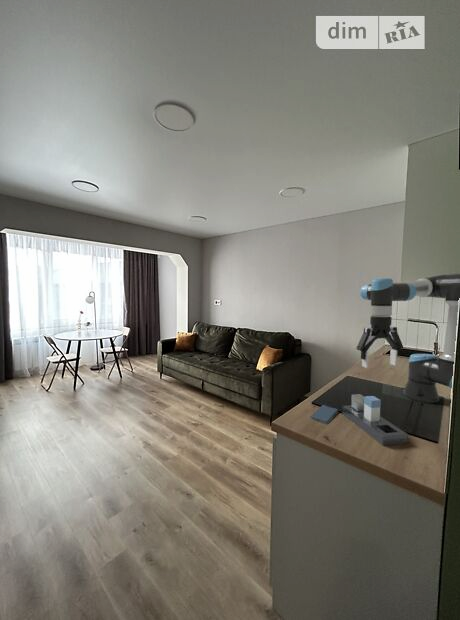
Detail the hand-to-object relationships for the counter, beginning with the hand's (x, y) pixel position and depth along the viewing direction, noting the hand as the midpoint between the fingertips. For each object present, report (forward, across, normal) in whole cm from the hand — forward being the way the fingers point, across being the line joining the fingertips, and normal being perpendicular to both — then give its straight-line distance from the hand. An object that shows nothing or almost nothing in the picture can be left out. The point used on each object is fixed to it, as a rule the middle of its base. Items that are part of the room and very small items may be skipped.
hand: (379, 365), depth 104 cm
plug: (+24, +6, +3) cm, 25 cm away
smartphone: (+24, +20, -9) cm, 33 cm away
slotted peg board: (+24, +6, +3) cm, 25 cm away
